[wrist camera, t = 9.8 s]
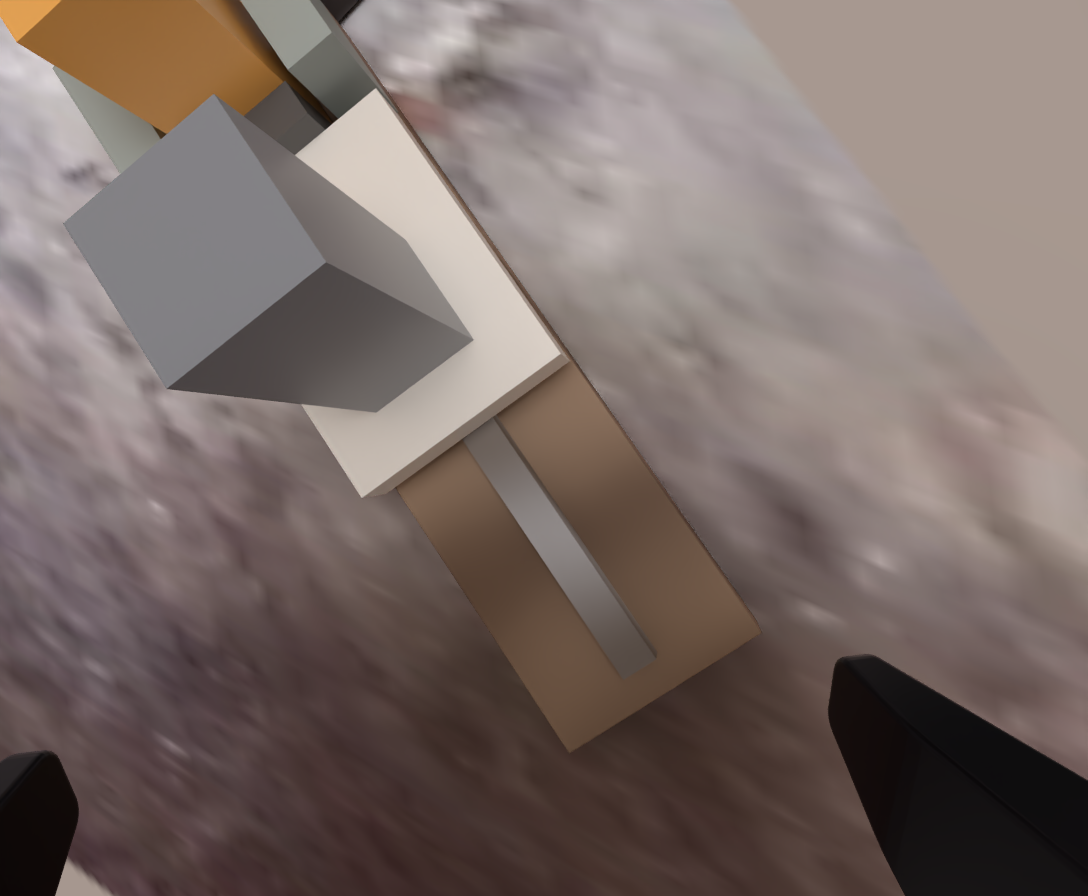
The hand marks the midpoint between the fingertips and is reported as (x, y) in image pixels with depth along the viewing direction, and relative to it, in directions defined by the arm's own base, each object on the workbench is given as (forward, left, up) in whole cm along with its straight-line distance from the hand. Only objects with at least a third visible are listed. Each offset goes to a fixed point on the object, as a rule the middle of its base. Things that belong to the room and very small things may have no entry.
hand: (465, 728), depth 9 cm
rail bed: (+7, 0, -13) cm, 14 cm away
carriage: (+9, 0, -10) cm, 13 cm away
